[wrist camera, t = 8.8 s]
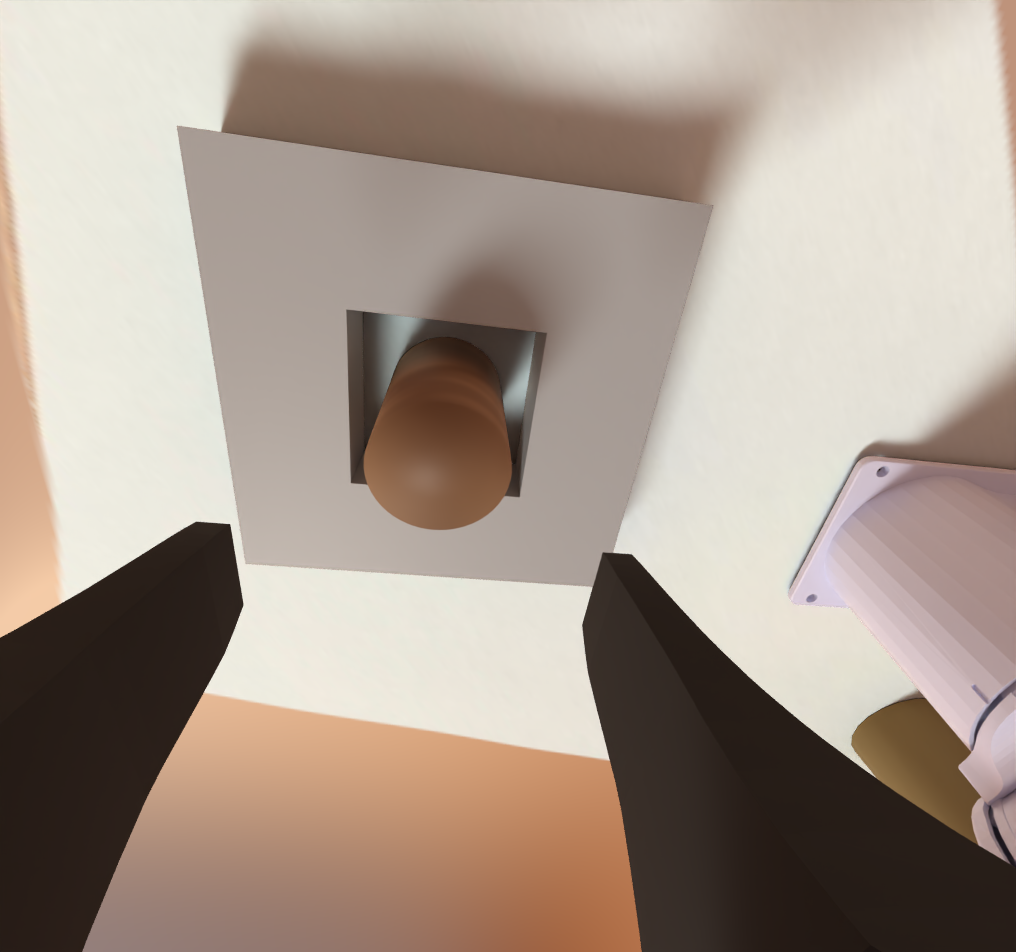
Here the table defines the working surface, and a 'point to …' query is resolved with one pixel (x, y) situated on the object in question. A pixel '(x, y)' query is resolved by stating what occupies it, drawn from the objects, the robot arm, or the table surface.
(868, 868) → the robot arm
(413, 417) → the wooden peg
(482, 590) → the table surface
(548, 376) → the socket block
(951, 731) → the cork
